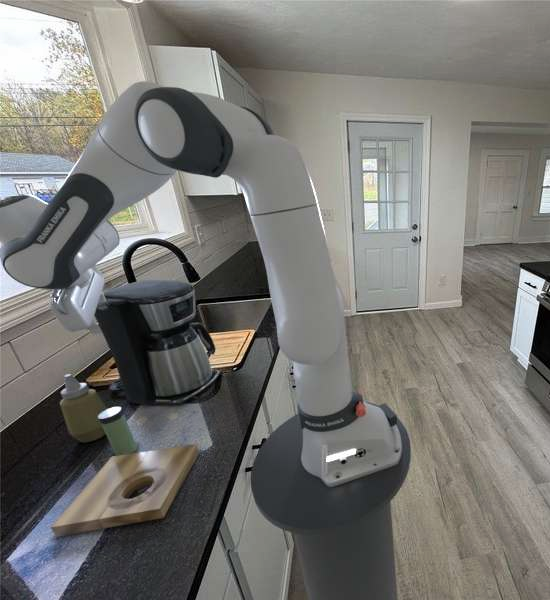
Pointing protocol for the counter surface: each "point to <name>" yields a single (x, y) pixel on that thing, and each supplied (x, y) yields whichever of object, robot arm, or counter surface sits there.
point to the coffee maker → (157, 342)
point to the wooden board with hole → (128, 490)
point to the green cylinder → (117, 431)
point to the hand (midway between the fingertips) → (101, 319)
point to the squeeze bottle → (81, 410)
